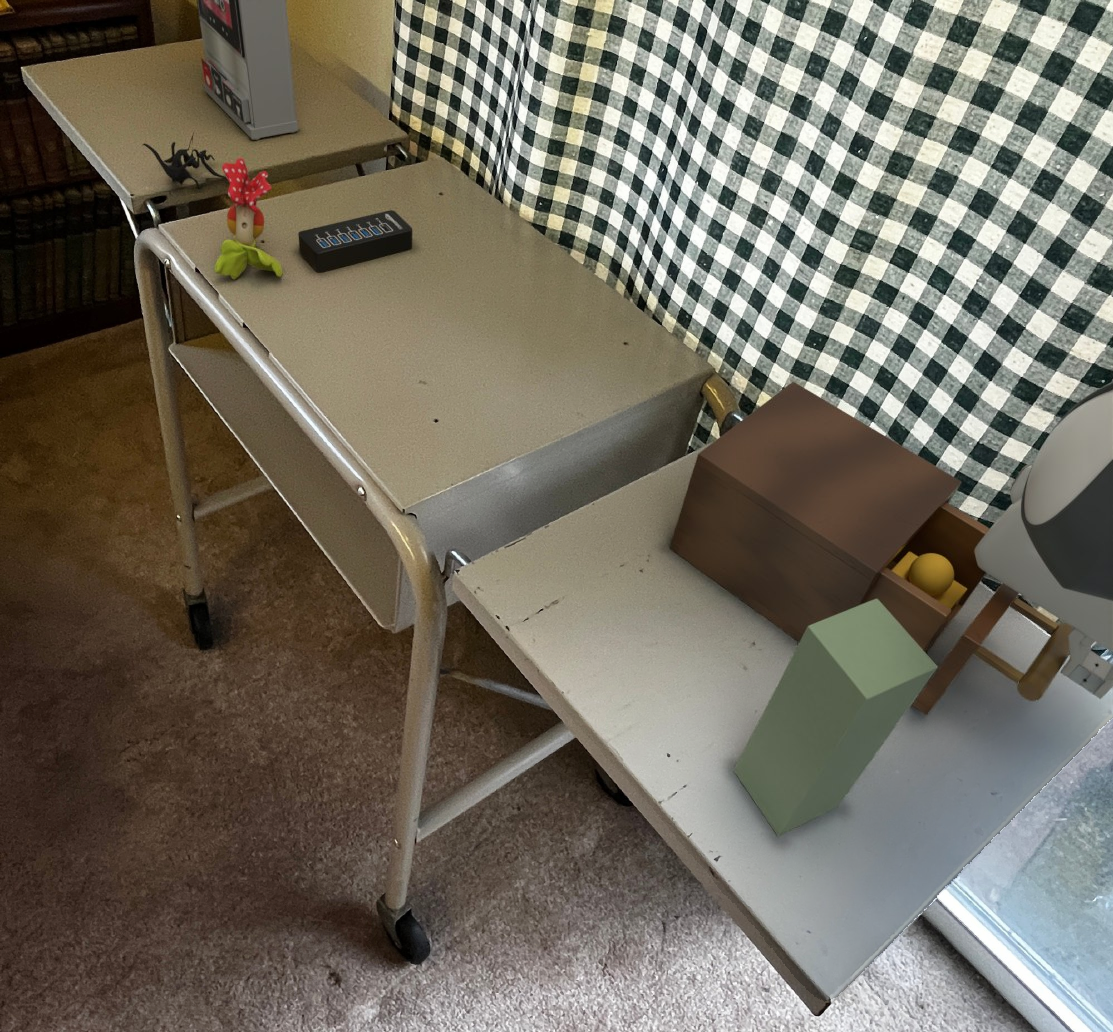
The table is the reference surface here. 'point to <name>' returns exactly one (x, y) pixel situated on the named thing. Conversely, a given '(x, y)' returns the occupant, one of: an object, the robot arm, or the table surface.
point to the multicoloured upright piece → (244, 223)
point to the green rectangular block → (831, 713)
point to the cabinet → (804, 508)
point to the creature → (178, 169)
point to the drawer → (926, 615)
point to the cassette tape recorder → (249, 63)
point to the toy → (931, 577)
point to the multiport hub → (355, 240)
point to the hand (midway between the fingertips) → (1082, 680)
